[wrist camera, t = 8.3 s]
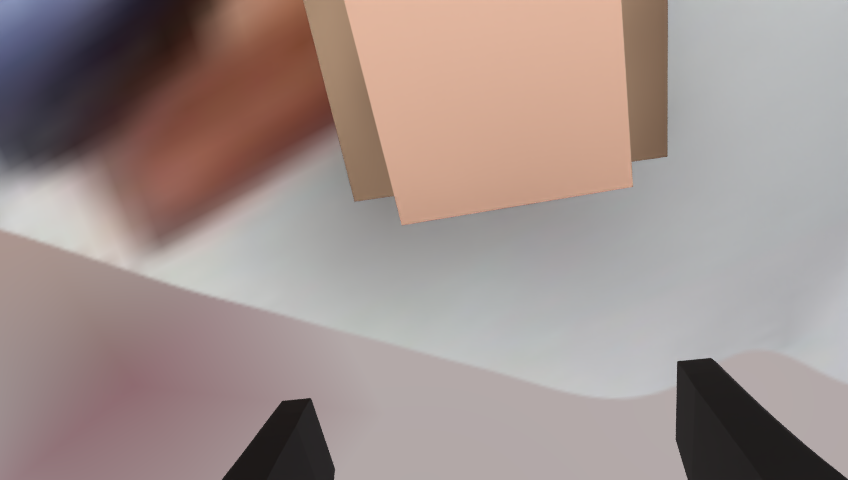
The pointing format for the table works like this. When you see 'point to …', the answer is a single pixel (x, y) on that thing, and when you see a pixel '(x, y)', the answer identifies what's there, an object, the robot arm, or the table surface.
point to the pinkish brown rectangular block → (495, 100)
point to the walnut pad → (356, 119)
